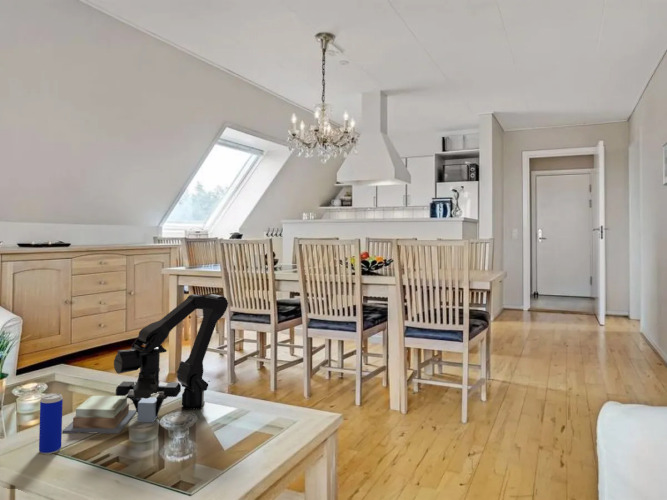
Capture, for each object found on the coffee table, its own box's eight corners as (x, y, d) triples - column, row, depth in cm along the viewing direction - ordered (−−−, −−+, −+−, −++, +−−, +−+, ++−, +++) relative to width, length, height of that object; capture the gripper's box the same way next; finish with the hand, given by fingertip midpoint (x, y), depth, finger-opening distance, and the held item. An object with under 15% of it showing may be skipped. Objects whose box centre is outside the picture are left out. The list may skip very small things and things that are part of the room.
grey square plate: (137, 412, 155) (137, 410, 155) (118, 433, 139) (119, 431, 139) (86, 411, 153) (86, 409, 153) (62, 432, 137) (62, 430, 137)
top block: (158, 415, 153) (158, 397, 153) (153, 421, 148) (154, 403, 148) (142, 415, 152) (143, 397, 152) (137, 421, 147) (137, 402, 147)
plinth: (128, 412, 152) (129, 395, 152) (114, 428, 140) (115, 410, 140) (90, 411, 151) (90, 395, 151) (72, 427, 139) (73, 409, 139)
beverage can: (58, 444, 130) (59, 391, 129) (63, 451, 127) (65, 396, 126) (36, 449, 127) (38, 395, 126) (41, 457, 123) (43, 400, 122)
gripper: (109, 374, 140) (107, 425, 141) (173, 376, 142) (171, 426, 143) (123, 363, 152) (121, 411, 152) (182, 365, 153) (180, 412, 154)
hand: (148, 415), depth 150 cm, fingers closed on top block, 5 cm apart
